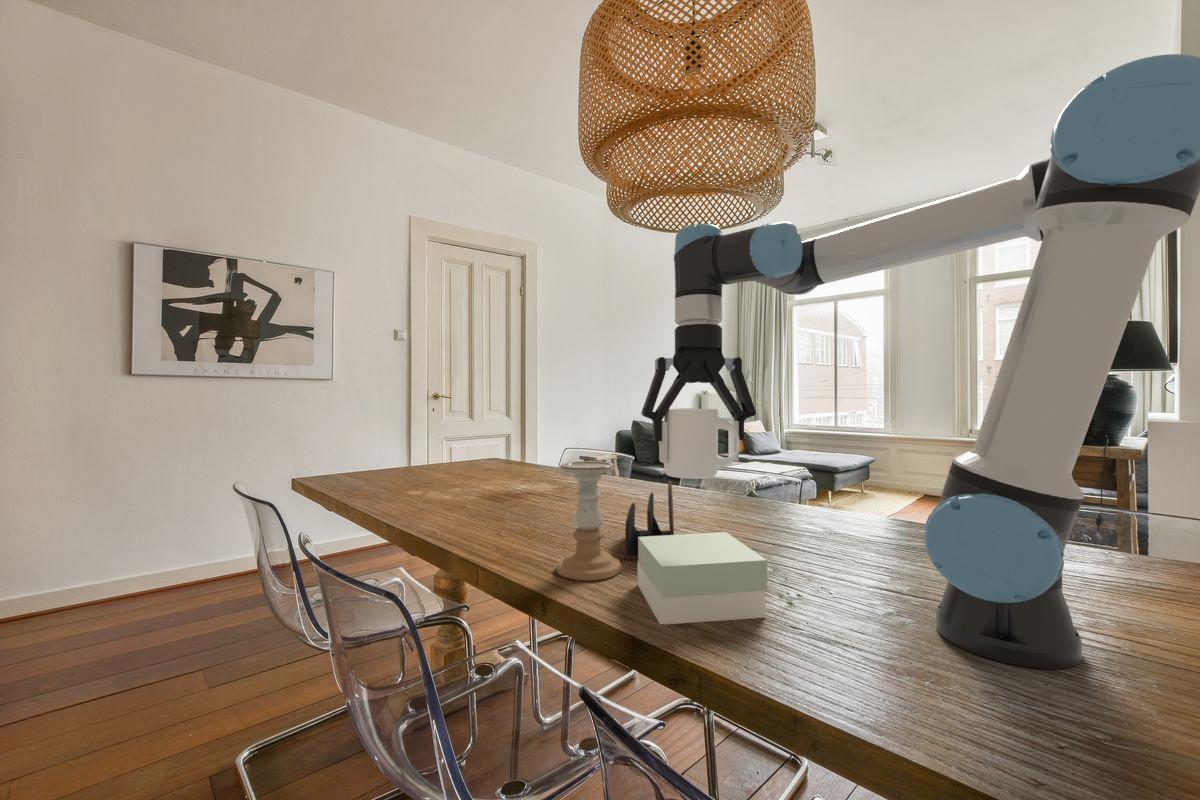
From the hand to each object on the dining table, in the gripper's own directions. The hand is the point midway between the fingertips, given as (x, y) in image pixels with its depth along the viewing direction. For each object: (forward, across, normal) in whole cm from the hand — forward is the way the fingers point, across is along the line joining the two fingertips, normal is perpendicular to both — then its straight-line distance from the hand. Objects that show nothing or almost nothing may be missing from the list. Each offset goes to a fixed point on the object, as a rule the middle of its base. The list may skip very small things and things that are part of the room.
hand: (698, 461), depth 84 cm
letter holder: (+23, +2, -29) cm, 37 cm away
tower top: (+18, 0, +1) cm, 18 cm away
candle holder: (+23, +17, -16) cm, 32 cm away
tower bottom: (+23, +1, 0) cm, 23 cm away
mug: (+2, 0, 0) cm, 3 cm away
